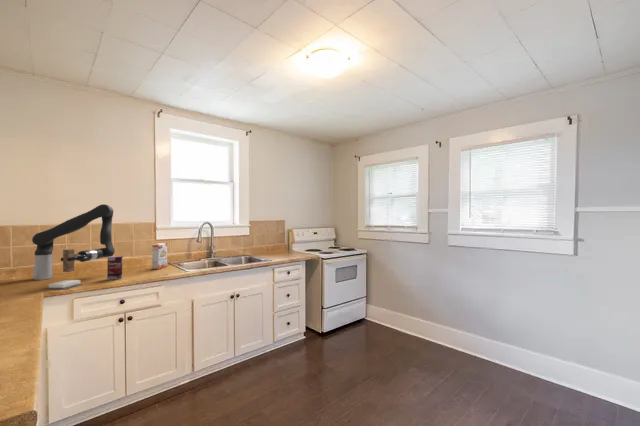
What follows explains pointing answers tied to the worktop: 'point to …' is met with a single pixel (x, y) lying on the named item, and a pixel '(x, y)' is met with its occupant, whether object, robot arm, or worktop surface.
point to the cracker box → (159, 255)
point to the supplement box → (114, 267)
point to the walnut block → (68, 265)
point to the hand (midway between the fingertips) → (64, 259)
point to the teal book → (64, 283)
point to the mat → (64, 288)
